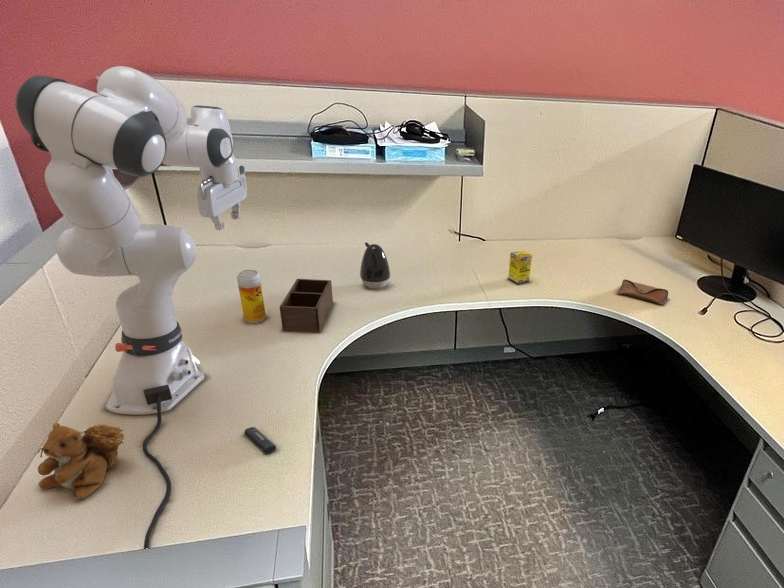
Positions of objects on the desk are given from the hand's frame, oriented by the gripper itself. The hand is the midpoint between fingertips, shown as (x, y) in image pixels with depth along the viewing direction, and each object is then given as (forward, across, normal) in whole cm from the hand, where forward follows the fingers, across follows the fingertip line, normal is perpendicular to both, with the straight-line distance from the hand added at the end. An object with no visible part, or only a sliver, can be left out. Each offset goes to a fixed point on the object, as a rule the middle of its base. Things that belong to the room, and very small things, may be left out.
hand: (228, 223), depth 154 cm
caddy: (+30, +6, -17) cm, 35 cm away
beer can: (+30, +1, -3) cm, 30 cm away
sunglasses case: (+30, +46, -128) cm, 140 cm away
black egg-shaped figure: (+30, +33, -31) cm, 55 cm away
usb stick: (+29, -54, -27) cm, 67 cm away
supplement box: (+30, +50, -82) cm, 100 cm away
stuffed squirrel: (+29, -68, 0) cm, 74 cm away
